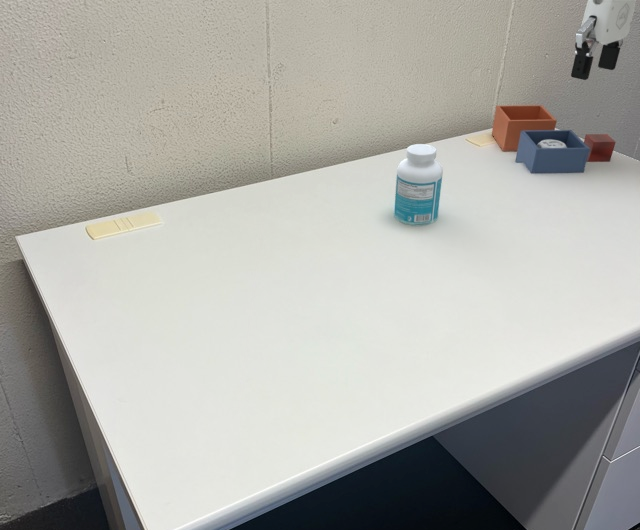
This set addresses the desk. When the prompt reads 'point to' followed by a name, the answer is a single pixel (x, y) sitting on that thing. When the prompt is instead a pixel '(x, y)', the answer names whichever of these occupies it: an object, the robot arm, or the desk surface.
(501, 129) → the terracotta bin
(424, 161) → the pill bottle
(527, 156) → the blue bin
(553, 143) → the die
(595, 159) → the red block
